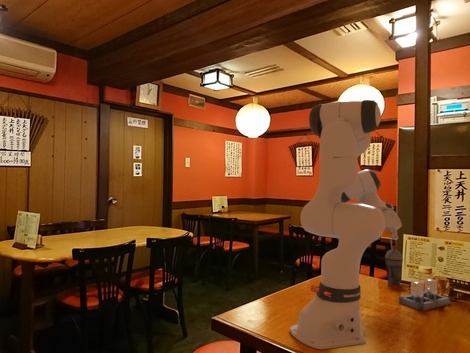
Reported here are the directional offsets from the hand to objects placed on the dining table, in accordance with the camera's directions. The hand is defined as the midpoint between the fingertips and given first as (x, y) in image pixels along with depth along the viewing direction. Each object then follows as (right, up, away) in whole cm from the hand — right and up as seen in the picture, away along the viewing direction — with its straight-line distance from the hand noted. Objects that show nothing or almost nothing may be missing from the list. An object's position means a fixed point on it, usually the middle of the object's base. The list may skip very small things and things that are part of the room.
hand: (387, 239), depth 133 cm
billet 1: (+7, -22, -9) cm, 25 cm away
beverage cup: (+11, -24, +18) cm, 31 cm away
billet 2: (+14, -22, -6) cm, 27 cm away
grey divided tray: (+10, -23, -7) cm, 26 cm away
